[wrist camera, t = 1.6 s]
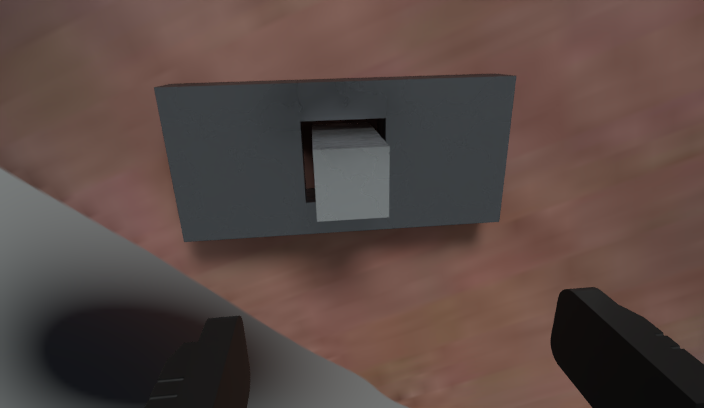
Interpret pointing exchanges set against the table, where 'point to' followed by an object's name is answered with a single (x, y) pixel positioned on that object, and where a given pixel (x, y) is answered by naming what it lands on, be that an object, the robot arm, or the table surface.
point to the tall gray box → (350, 171)
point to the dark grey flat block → (288, 155)
